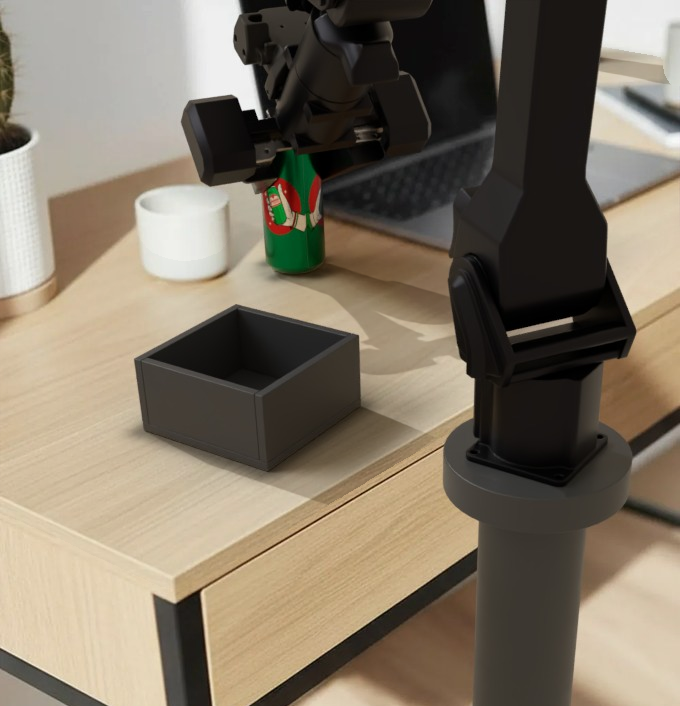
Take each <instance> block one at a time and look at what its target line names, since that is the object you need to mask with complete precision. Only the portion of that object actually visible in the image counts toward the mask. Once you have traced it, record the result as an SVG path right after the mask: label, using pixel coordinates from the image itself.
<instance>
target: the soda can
mask: <svg viewBox="0 0 680 706" xmlns="http://www.w3.org/2000/svg"><path fill="white" fill-rule="evenodd" d="M265 119H267V117H266V118H265ZM273 162H274V165H275V168H276V171H277V174H278V179H277V180H276V181H275V182H273V183H272V184H271V185H270V186H269V187H268V188H267V189H266V190H265V191H263V192H262V193H260V197H261V213H262V228H263V241H264V242H263V244H264V255H265V257H264V258H265V263H266V264H267V265H268V266H269V267H270V269H272V270H274V271H275V272H278V273H281V274H287V275H298V274H300V275H301V274H306V273H310V272H313V271H315V270H317V269H319V268H320V267H321V266H322V265H323V263H324V262H325V260H326V258H327V257H326V236H325V235H326V233H325V213H324V212H325V211H324V189H323V185H324V184H323V182H322V161H321V152H316V153H309V154H303V155H297V156H295V154H294V151H293V149H292V150H286V151H279V152H276V156H275V158H274V159H273Z"/></svg>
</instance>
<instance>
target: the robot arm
mask: <svg viewBox="0 0 680 706" xmlns="http://www.w3.org/2000/svg"><path fill="white" fill-rule="evenodd" d="M284 1H285V4H286V6H278V7H277V6H276V7H269V8H263V9H260V10H258V12H249V13H239V15H238V17H237V19H236V22H235V24H234V26H233V36H232V37H233V38H232V43H233V49H234V51H235V52H236V54H237V56H238V58H239V59H240V61H241V62H242V64H243V65H244V66H252V65H259V66H262V67H263V68H264V70H265V71H266V73H267V77H266V81H265V84H264V90H265V92H266V95H267V98H268V100H269V101H275V103H276V106H274V107H273V106H272V107H268V108H267V109H266V111H265V115H266V118H267V119H266V118H262V119H261V118H260V119H259V117H258V114H257V111H256V109H255V108H250V109H242V106H241V103H240V101H239V97H237V96H235V95H234V94H225V95H217V96H211V97H203V98H196V99H189V100H188V101H187V103H186V105H185V106H184V108H183V111H182V114H181V119H180V125H181V128H182V130H183V134H184V136H185V139H186V142H187V145H188V148H189V151H190V155H191V157H192V160H193V163H194V167H195V170H196V173H197V176H198V178H199V180H200V181H199V182H201V183H202V184H204V185H205V186H207V187H209V188H212V187H217V186H224V185H230V184H236V183H243V184H245V185H251V188H252V190H253V193H254V195H261V193H262V192H263V191H265V190H266V189H267V188H268V187H269V186H270V185H271V184H272V183H273V182H275V181H276V180H277V179H278V174H277V171H276V168H275V165H274V162H273V159H274V158H275V156H276V152H279V151H286V150H292V149H293V151H294V154H295V156H297V155H303V154H309V153H316V152H321V161H322V183H324V182H327V181H329V180H332V179H334V178H337V177H339V176H342V175H344V174H345V175H346V174H348V173H351V172H354V171H356V170H359V169H361V168H364V167H367V166H370V165H373V164H378V163H380V162H382V161H383V160H384V159H385V156H386V155H387V156H388V157H390V158H395V157H402V156H408V155H412V154H413V155H414V154H419V153H421V152H422V151H423V149H424V147H425V146H426V144H427V142H428V141H429V139H430V137H431V135H432V122H431V119H430V117H429V114H428V112H427V111H428V110H427V108H426V106H425V104H424V101H423V98H422V95H421V92H420V91H419V90H420V89H419V88H418V85H417V82H416V80H415V78H414V77H413V76H412V75H411V74H410V73H409V72H406V71H404V70H400V65H399V61H398V59H397V56H396V53H395V50H394V49H393V45H392V42H393V39H394V32H393V31H394V30H393V28H392V24H391V22H396V21H404V20H411V19H419V18H421V17H424V16H425V14H426V13H427V12H428V11H429V9H430V7H431V5H432V2H433V0H284ZM608 1H609V0H505V3H504V16H503V17H504V18H503V30H502V43H501V54H500V69H499V81H498V90H497V91H498V93H497V94H498V95H497V105H496V118H495V130H494V141H493V142H494V144H493V155H492V163H491V168H490V169H489V171H488V173H487V174H486V175H485V177H484V179H483V180H482V182H481V184H478V185H472V186H466V187H462V188H459V189H458V191H457V193H456V195H455V198H454V201H453V203H452V220H453V221H452V237H451V243H450V247H449V250H448V252H447V253H448V258H449V259H452V261H451V263H450V266H449V270H448V277H447V287H448V293H449V300H450V307H451V314H452V320H453V326H454V334H455V339H456V341H455V342H456V346H457V349H458V355H459V358H460V359H461V361H463V362H464V363H465V365H466V366H465V374H466V375H467V376H468V377H469V378H471V379H473V382H474V383H473V413H472V418H473V435H474V437H475V438H478V439H479V440H478V441H477V442H475V443H474V444H473V445H472V446H471V447H470V448H468V449H467V450H466V459H467V460H468V461H470V462H473V463H477V464H480V465H483V466H487V467H490V468H494V469H497V470H500V471H504V472H507V473H510V474H514V475H517V476H520V477H524V478H527V479H531V480H534V481H537V482H541V483H544V484H547V485H551V486H554V487H564V486H566V485H567V484H568V483H569V482H570V481H571V480H572V479H573V478H574V477H575V476H576V475H577V474H578V473H579V472H580V471H581V470H582V469H583V468H584V467H585V466H586V465H587V464H588V463H589V462H590V461H591V460H592V459H593V458H594V457H595V456H596V455H597V454H598V453H599V452H600V451H601V450H602V449H603V448H604V447H605V446H606V445H607V443H608V436H607V435H606V434H603V433H599V432H598V423H599V421H600V413H601V412H600V411H601V401H602V400H601V399H602V389H603V378H604V367H605V362H608V361H611V360H622V359H626V358H628V356H629V354H630V351H631V350H632V349H631V348H632V346H633V344H634V341H635V339H636V336H637V328H636V327H637V326H636V325H635V322H634V320H633V317H632V315H631V311H630V310H629V307H628V305H627V302H626V299H625V298H624V294H623V293H622V290H621V287H620V285H619V283H618V280H617V277H616V275H615V273H614V270H613V267H612V265H611V263H610V261H609V258H608V238H609V237H608V235H609V223H608V220H607V218H606V216H605V214H604V211H603V210H602V208H601V206H600V204H599V202H598V199H597V198H596V196H595V194H594V192H593V190H592V187H591V185H590V183H589V182H588V179H587V165H588V157H589V149H590V140H591V135H592V134H591V133H592V125H593V119H594V110H595V103H596V102H595V101H596V94H597V87H598V78H599V72H600V71H599V70H600V62H601V55H602V48H603V40H604V39H603V38H604V32H605V24H606V23H605V22H606V17H607V8H608ZM381 133H383V134H384V136H385V139H386V140H385V143H384V144H383V145H382V141H381V139H382V135H381ZM385 154H386V155H385ZM570 318H572V321H571V322H567V323H563V324H558V325H554V326H550V327H545V328H540V329H537V330H532V331H528V332H523V333H519V334H515V335H511V336H508V332H513V331H517V330H522V329H525V328H526V329H527V328H529V327H530V328H531V327H534V326H539V325H543V324H544V325H545V324H548V323H552V322H556V321H561V320H566V319H570Z"/></svg>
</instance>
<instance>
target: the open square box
mask: <svg viewBox="0 0 680 706" xmlns="http://www.w3.org/2000/svg"><path fill="white" fill-rule="evenodd" d="M360 347H361V346H360V335H359V334H357V333H353V332H350V331H346V330H341V329H336V328H334V327H330V326H325V325H321V324H317V323H314V322H309V321H305V320H301V319H297V318H293V317H289V316H285V315H281V314H278V313H273V312H269V311H265V310H262V309H257V308H254V307H250V306H245V305H242V304H239V303H238V304H237V303H234V304H233V305H231V306H230V307H227V308H226V309H224V310H222V311H220V312H218V313H216V314H215V315H213V316H211V317H209V318H207V319H205V320H203V321H201V322H199V323H197V324H196V325H193V326H192V327H190V328H188V329H187V330H184V331H183V332H181V333H179V334H176V336H173V337H172V338H170V339H168V340H166V341H164V342H162V343H161V344H159V345H157V346H154V347H152V348H151V349H149V350H148V351H146V352H144V353H141V354H140V355H137V356H136V357H134V358H133V362H134V363H133V364H134V370H135V377H136V385H137V392H138V399H139V407H140V413H141V422H142V428H143V431H145V432H148V433H151V434H154V435H157V436H160V437H163V438H167V439H169V440H173V441H175V442H178V443H181V444H184V445H187V446H190V447H192V448H196V449H199V450H202V451H205V452H208V453H211V454H213V455H217V456H220V457H223V458H226V459H228V460H231V461H235V462H238V463H240V464H244V465H247V466H250V467H253V468H255V469H259V470H261V471H265V472H269V471H271V470H273V469H274V468H275V467H277V465H280V464H281V463H282V462H283V461H285V460H286V459H288V458H289V457H290V456H292V455H294V453H296V452H297V451H299V450H300V449H302V448H303V447H304V446H306V445H308V444H309V443H310V442H311V441H313V440H315V439H316V438H317V437H319V436H321V435H322V434H323V433H324V432H326V431H327V430H329V429H330V428H332V427H333V426H334V425H336V424H337V423H339V422H340V421H341V420H343V419H344V418H345V417H347V416H348V415H350V414H351V413H353V412H354V411H356V409H358V408H360V407H361V406H362V398H361V397H362V389H361V388H362V387H361V385H362V384H361V352H360V351H361V350H360Z"/></svg>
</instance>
